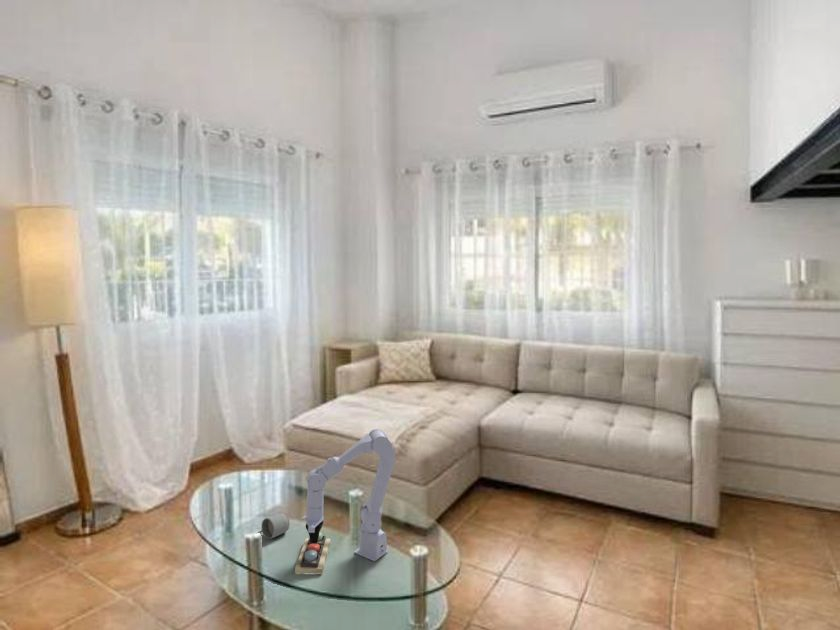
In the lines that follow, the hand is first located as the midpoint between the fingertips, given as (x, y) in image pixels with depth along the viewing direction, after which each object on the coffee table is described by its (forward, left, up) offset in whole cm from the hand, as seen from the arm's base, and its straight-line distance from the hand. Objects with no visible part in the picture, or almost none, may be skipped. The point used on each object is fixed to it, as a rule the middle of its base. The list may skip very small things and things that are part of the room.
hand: (314, 542), depth 185 cm
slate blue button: (-4, +5, -2) cm, 7 cm away
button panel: (0, 0, -6) cm, 6 cm away
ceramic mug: (+24, -3, -6) cm, 25 cm away
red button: (0, 0, -3) cm, 3 cm away
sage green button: (+4, -5, -2) cm, 7 cm away
